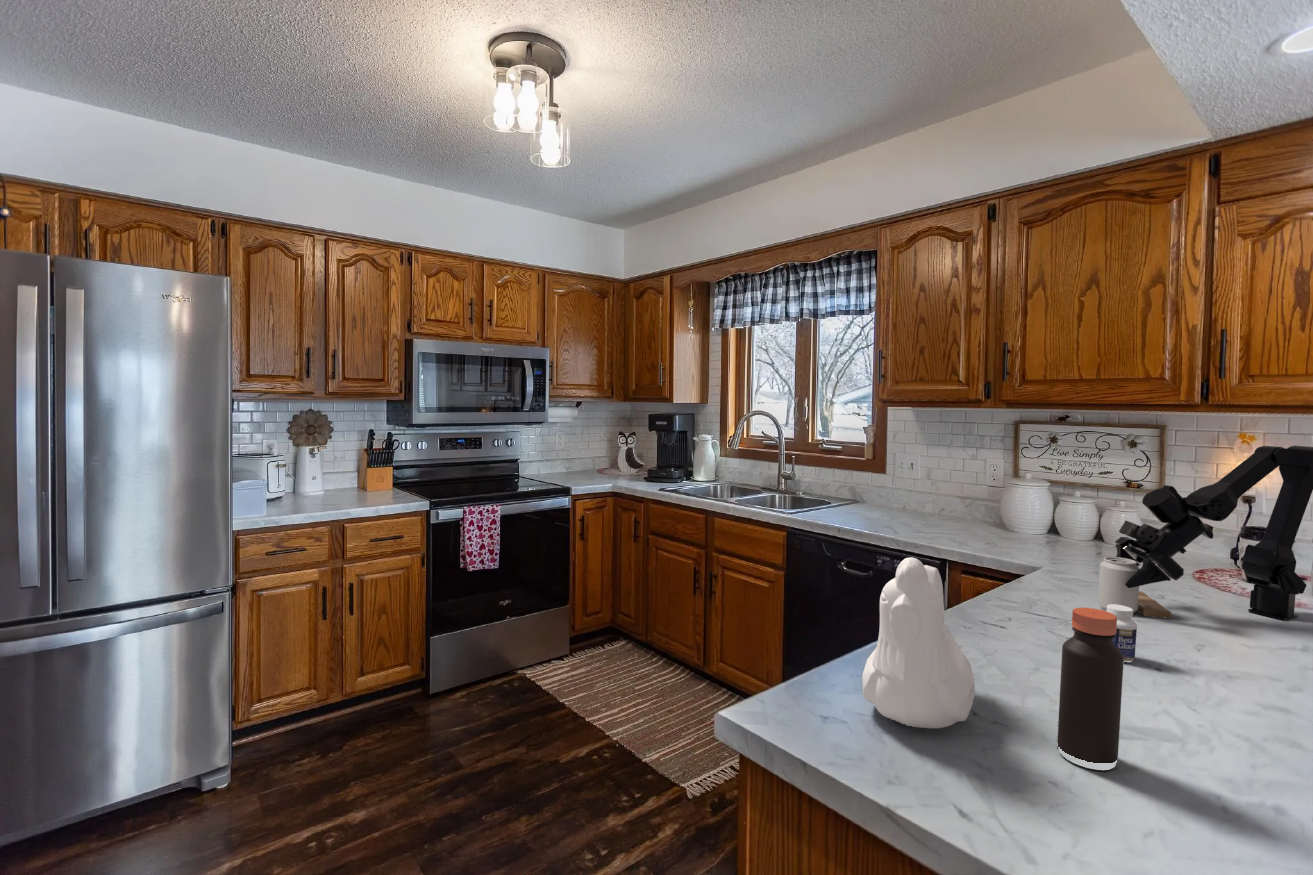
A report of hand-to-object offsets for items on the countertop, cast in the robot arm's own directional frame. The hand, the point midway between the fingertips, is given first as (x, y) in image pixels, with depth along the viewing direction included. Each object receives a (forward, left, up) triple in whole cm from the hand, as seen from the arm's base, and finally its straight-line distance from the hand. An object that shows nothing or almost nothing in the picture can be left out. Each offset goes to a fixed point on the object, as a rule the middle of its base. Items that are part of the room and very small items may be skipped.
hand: (1116, 580), depth 147 cm
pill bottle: (-17, +29, -7) cm, 35 cm away
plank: (-1, -9, -7) cm, 11 cm away
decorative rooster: (-17, +79, -7) cm, 81 cm away
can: (0, 0, -7) cm, 7 cm away
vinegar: (-36, +69, -7) cm, 78 cm away
